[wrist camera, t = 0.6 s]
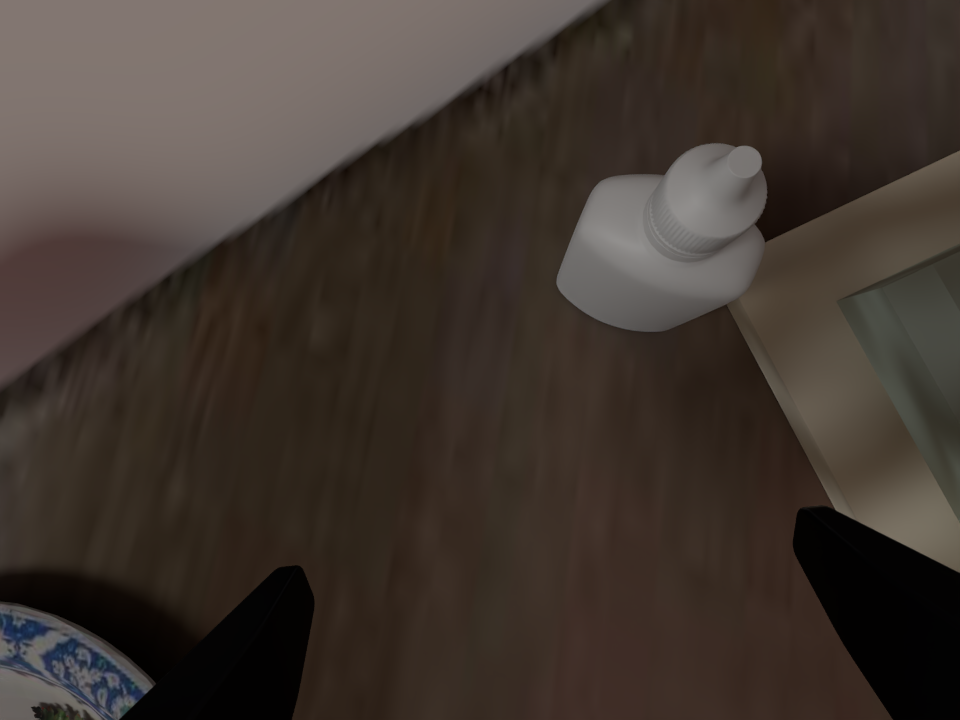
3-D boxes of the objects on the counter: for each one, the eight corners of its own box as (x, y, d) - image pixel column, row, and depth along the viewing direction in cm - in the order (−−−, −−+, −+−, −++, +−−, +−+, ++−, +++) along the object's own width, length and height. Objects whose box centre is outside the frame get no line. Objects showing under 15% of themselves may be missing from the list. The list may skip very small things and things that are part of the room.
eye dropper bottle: (615, 213, 22) (736, 2, 10) (696, 307, 22) (921, 197, 10) (541, 272, 22) (577, 127, 10) (620, 367, 22) (753, 330, 10)
